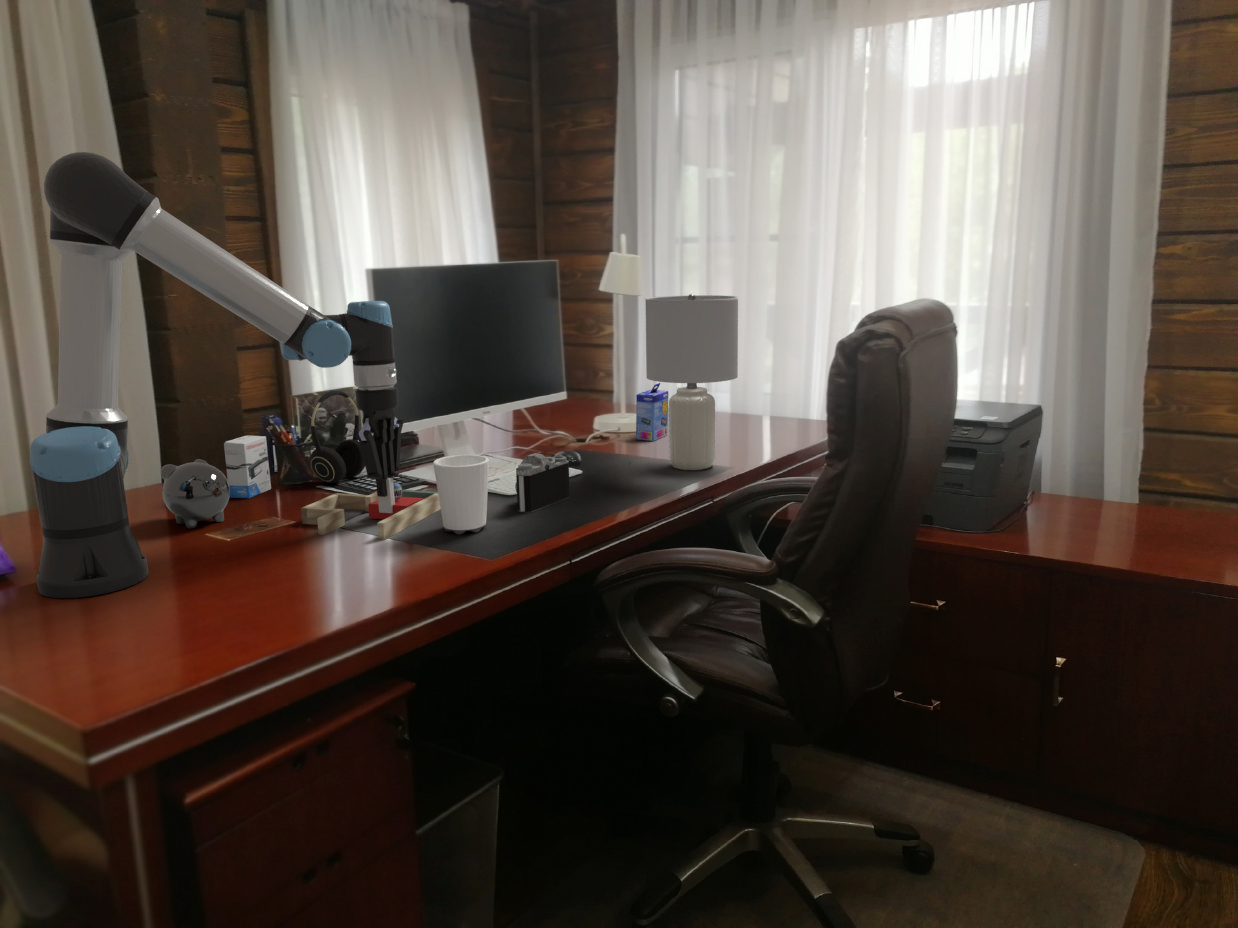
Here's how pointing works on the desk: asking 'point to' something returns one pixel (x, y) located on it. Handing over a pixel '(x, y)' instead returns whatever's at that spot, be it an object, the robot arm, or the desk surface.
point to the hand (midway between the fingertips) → (387, 511)
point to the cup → (462, 491)
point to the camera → (541, 481)
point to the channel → (348, 506)
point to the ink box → (247, 466)
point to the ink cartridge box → (651, 414)
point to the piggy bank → (195, 492)
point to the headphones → (336, 451)
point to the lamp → (692, 367)
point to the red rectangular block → (397, 507)
